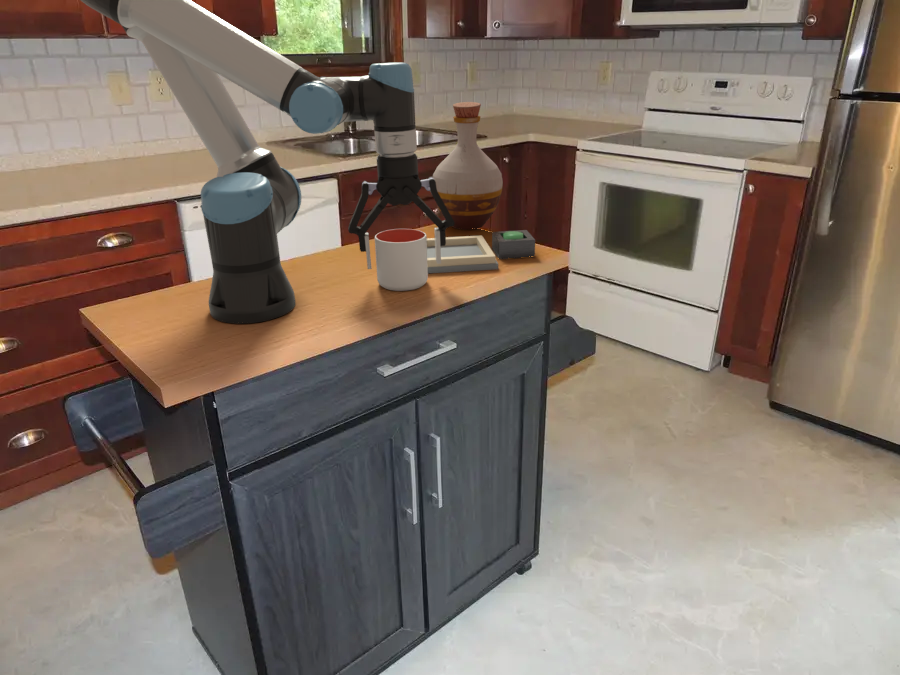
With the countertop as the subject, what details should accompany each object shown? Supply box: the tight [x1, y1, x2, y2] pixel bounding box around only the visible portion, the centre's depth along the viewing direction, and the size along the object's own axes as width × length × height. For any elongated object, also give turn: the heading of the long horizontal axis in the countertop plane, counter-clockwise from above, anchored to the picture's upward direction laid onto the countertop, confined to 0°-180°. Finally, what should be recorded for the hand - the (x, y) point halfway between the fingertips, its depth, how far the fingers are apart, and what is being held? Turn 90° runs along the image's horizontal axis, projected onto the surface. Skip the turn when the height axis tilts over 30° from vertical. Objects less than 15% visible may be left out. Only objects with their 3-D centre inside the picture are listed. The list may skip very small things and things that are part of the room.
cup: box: [374, 228, 429, 292], centre depth 130 cm, size 10×10×10 cm
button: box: [503, 230, 523, 240], centre depth 148 cm, size 4×4×3 cm
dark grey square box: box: [491, 229, 536, 260], centre depth 149 cm, size 8×8×4 cm
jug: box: [432, 101, 504, 230], centre depth 166 cm, size 20×18×30 cm
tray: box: [427, 235, 499, 274], centre depth 146 cm, size 17×17×3 cm
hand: (404, 264), depth 130 cm, fingers open, 13 cm apart
